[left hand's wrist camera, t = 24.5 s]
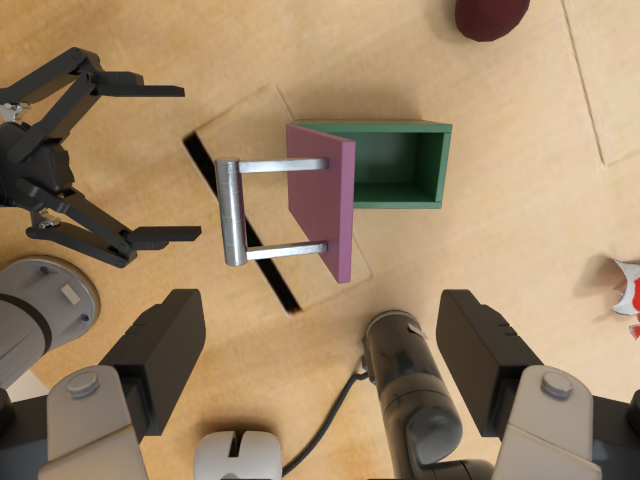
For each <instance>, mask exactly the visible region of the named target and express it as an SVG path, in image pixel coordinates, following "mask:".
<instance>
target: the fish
mask: <svg viewBox="0 0 640 480" xmlns="http://www.w3.org/2000/svg"><path fill="white" fill-rule="evenodd" d="M613 260H614V259H613ZM614 261H615V262H616V263H617V264H618V265H619V267H620V268H621V269H622V271H623V273H624V274H625V277H626V279H627V281H628V282H627V288H626V291H625V293H621V292H618V291H615V290H614V291H615V292H617V293H619V294H621V295H623V296H622V298H621V299H620V301H619V302H618V303H617V304H616V305H615V306H613V307H612V308H611V309H612V310H614V311H615V312H616V313H618V314H622V315H635V316H637V318H638V320H639V322H640V264H632V263H622V262H619V261H617V260H614ZM629 329H630V332H631V334H632V335H633V337H634V338H635V340H636V339H637V338H638V337H639V336H640V325H632V326H630V327H629Z"/></svg>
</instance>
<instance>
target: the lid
mask: <svg viewBox="0 0 640 480" xmlns="http://www.w3.org/2000/svg"><path fill="white" fill-rule="evenodd" d="M286 140H287V158H284V159H256V160H240V159H239V158H235V157H223V158H217V159H215V160H214V163H215V172H216V181H217V190H218V200H219V209H220V218H221V227H222V236H223V245H224V254H225V263H226V264H227V265H229V266H241V265H244V264H246V263H247V262H248V260H256V259H265V258H274V257H283V256H293V255H302V254H311V253H318V254H319V255H320V257H321V258H322V260H323V261H324V263H325V264H326V266H327V267H328V269H329V270H330V272H331V273H332V275H333V276H334V278H335V279H336V281H337V282H338V283H347V282H350V273H351V248H352V223H353V198H354V173H355V148H356V141H354V140H350V139H347V138H343V137H339V136H335V135H332V134H328V133H324V132H320V131H316V130H313V129H309V128H305V127H301V126H298V125H294V124H288V125H286ZM277 171H288V202H289V211H290V212H291V214H292V215H293V217H294V218H295V220H296V221H297V223H298V224H299V226H300V227H301V229H302V230H303V232H304V233H305V235H306V236H307V238H308V239H309V241H310V242H300V243H290V244H280V245H270V246H260V247H250V248H247V238H246V226H245V214H244V202H243V189H242V177H241V173H255V172H277Z"/></svg>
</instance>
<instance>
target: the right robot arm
mask: <svg viewBox="0 0 640 480" xmlns="http://www.w3.org/2000/svg"><path fill="white" fill-rule="evenodd" d="M76 79H77V80H76ZM74 80H76V81H75V82H74V83H73V84H72V86H71V87H70V88H69V89H68V90H67V91H66V92H65V94H64V95H63V96H62V97H61V98H60V99H59V100H58V102H57V103H56V104H55V105H54V106H53V107H52V108H51V110H50V111H49V112H48V113H47V114H46V115H45V116H44V118H43V119H42V120H41V121H40V122H38V123H36V124H34V125H33V126H31V125H29V124H27V123H25V122H23V121H22V116H23V114H25V113H27V112H28V111H29V110H31V105H30V104H34V103H37V102H39V101H41V100H43V99H45V98H46V97H48V96H50V95H51V94H53V93H55V92H56V91H58V90H60V89H61V88H63V87H64V86H66V85H68V84H69V83H71V82H73V81H74ZM102 95H105V96H114V97H185V93H184V88H181V87H177V86H144V80H143V76H141V75H139V74H136V73H132V72H105V71H104V70H103V69H102V67H101V65H100V59H99V56H98V55H97V54H95V53H93V52H90V51H87V50H83V49H80V48H77V47H73V48H70V49H69V50H67V51H66V52H64V53H62V54H61V55H59V56H58V57H56V58H54V59H53V60H51V61H50V62H48V63H47V64H45V65H43V66H42V67H40V68H39V69H37V70H35V71H34V72H32V73H31V74H29V75H27V76H26V77H24V78H23V79H21V80H19V81H18V82H16V83H15V84H13V85H11V86H10V87H8V88H1V89H0V113H1V116H2V118H3V121H4V123H3V124H1V125H0V207H20V208H23V209H26V210H28V211H30V215H31V221H32V226H31V227H29V228H27V229H26V234H27V236H28V237H30V238H32V239H41V240H51V241H53V242H56V243H58V244H61V245H63V246H66V247H68V248H71V249H73V250H76V251H78V252H81V253H83V254H86V255H88V256H91V257H93V258H96V259H98V260H101V261H103V262H106V263H108V264H111V265H113V266H116V267H118V268H124V267H125V266H127V265H128V264H129V263H131V262H132V261H133V260H134V259H136V257H137V252H136V251H137V250H161V249H163V248H165V247H166V246H167V245H168V244H169V241H194V240H195V239H196V238H197V237H198V236H199V235H200V234H201V233H202V231H201V226H162V227H138V228H137V229H135V230H134V231H132V230H130V229H129V228H127V227H126V226H124V225H123V224H121V223H120V222H118V221H117V220H116V219H114V218H113V217H111V216H110V215H108V214H107V213H105V212H104V211H102V210H101V209H99V208H98V207H97V206H95V205H94V204H92V203H91V202H89V201H88V200H86V199H85V196H84V195H83V194H82V193H81V192H79V191H78V190H76V189H75V188H73V187H72V183H73V182H75V180H74V176H73V173H72V171H71V169H70V167H69V155H68V151H67V150H64V149H63V147H62V146H61V144H62V142H63V141H64V140H65V139H66V138H67V137H68V136H69V135H70V130H71V129H72V128H73V127H74V126H75V125H76V123H77V122H78V121H79V120H80V119H81V118H82V117H83V116H84V115H85V114H86V112H87V111H88V110H89V109H90V108H91V107H92V106H93V105H94V104H95V103H96V101H97V100H98V99H99V98H100V97H101V96H102ZM62 196H63V197H64V198H61V197H62ZM48 208H51V209H52V210H54V211H56V212H58V213H63V214H65V215H67V216H68V217H70V218H71V219H73V220H75V221H76V222H78V223H79V224H81V225H82V226H84V227H85V228H87V229H88V230H90V231H91V232H90V231H87V230H85V229H82V228H80V227H77V226H75V225H72V224H70V223H66V222H61V219H60V218H59V217H54V216H51V215H50V214H49V213H48V212H47V209H48ZM92 232H93V233H92ZM99 314H100V299H99V295H98V293H97V291H96V288H95V287H94V285H93V284H92V282H91V281H90V280H89V278H88V277H87V276H86V275H85V274H84V273H83V272H81V271H80V270H79V269H78V268H76V267H75V266H73V265H72V264H70V263H68V262H66V261H63V260H61V259H58V258H55V257H51V256H44V255H34V256H28V257H24V258H22V259H20V260H18V261H16V262H14V263H12V264H10V265H8V266H7V267H5V268H4V269H3V270H2V271H1V272H0V388H3V389H5V390H6V389H7V388H8V387H9V386H10V385H11V384H13V383H14V382H15V381H16V380H17V379H18V378H19V377H20V376H21V375H22V374H24V373H25V372H26V371H27V370H28V369H29V368H30V367H31V366H32V365H33V364H35V363H36V362H37V361H38V360H39V359H40V358H41V357H42V356H43V355H44V354H46V353H47V352H48V351H51V350H53V349H55V348H57V347H59V346H61V345H64V344H66V343H68V342H70V341H72V340H74V339H77V338H79V337H81V336H82V335H83V334H85V333H86V332H87V331H88V330H89V329H90V328H91V327H92V326H93V325H94V324H95V322H96V321H97V319H98V317H99Z"/></svg>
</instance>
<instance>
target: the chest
mask: <svg viewBox="0 0 640 480" xmlns="http://www.w3.org/2000/svg"><path fill="white" fill-rule="evenodd" d="M292 124H294V125H298V126H301V127H305V128H309V129H313V130H316V131H320V132H324V133H328V134H332V135H335V136H339V137H343V138H347V139H350V140H354V141H356V148H355V173H354V198H353V208H382V209H441V205H442V197H443V189H444V182H445V175H446V168H447V160H448V153H449V146H450V139H451V132H452V125H451V124H444V123H438V122H431V121H425V120H296V121H295V122H293V123H292Z"/></svg>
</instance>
